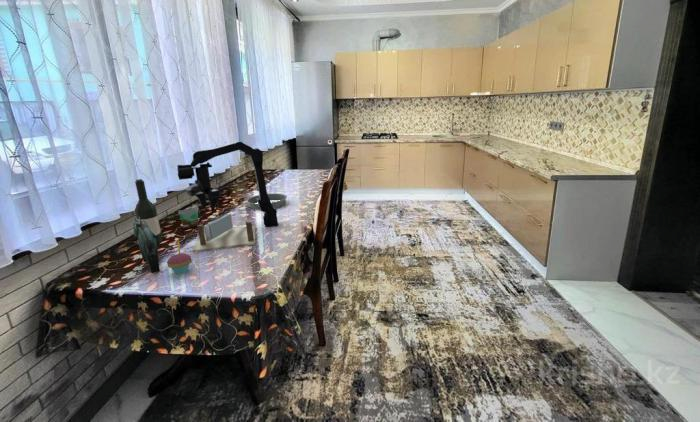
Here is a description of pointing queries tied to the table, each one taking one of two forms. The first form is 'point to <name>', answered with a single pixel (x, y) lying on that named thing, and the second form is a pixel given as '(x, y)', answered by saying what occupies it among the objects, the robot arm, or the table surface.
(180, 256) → the cupcake
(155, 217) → the wine bottle
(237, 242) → the base board
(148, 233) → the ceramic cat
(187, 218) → the food container
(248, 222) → the latch post
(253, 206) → the cake pan
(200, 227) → the hinge post
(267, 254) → the table surface
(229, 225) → the gate
